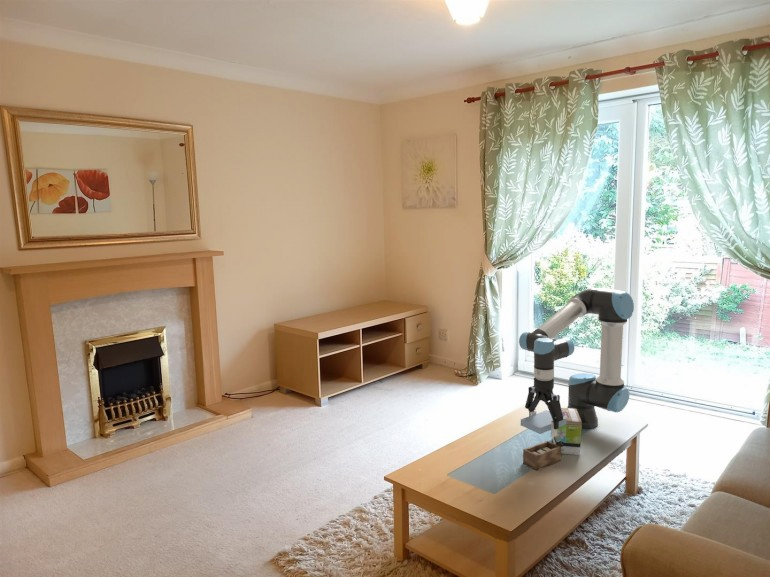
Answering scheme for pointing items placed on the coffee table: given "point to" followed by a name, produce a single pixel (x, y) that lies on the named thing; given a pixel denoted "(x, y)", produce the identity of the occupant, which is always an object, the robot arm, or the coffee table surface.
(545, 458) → the caddy
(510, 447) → the coffee table surface
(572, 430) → the tea box
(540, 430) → the lid
